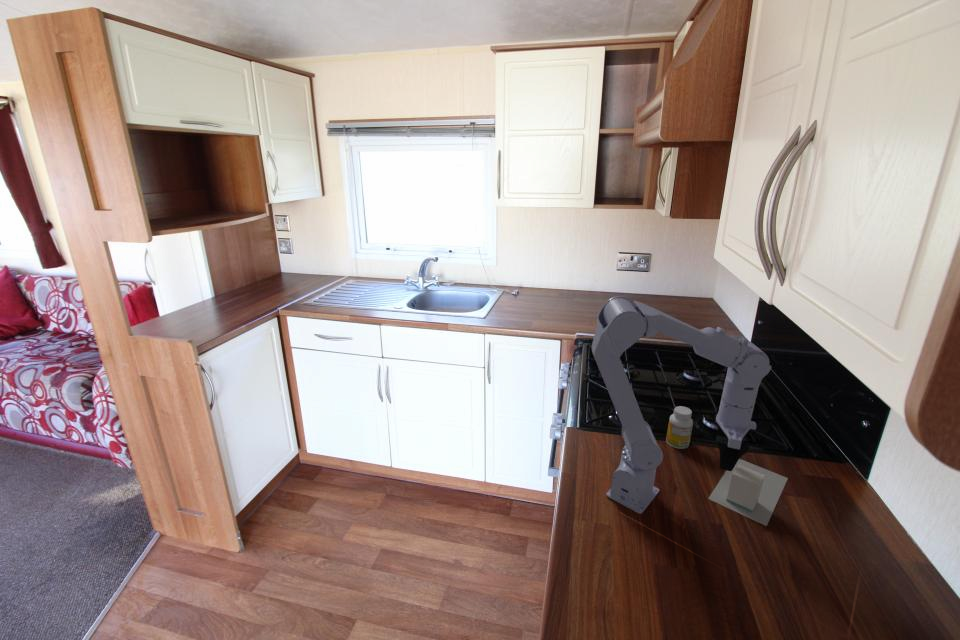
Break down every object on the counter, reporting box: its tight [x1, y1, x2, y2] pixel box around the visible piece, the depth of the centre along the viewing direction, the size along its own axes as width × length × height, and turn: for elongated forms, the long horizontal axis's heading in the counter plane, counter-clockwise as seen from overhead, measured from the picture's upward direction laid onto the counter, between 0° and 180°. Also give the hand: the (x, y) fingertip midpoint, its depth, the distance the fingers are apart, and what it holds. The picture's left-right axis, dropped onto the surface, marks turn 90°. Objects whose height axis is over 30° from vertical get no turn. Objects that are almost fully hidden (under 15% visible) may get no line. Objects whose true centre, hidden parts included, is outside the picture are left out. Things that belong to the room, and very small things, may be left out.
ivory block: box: [726, 465, 765, 513], centre depth 95 cm, size 4×5×7 cm
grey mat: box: [707, 458, 789, 527], centre depth 100 cm, size 19×11×1 cm, turn 137°
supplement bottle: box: [665, 405, 694, 450], centre depth 114 cm, size 5×5×10 cm
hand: (724, 458), depth 94 cm, fingers open, 7 cm apart
